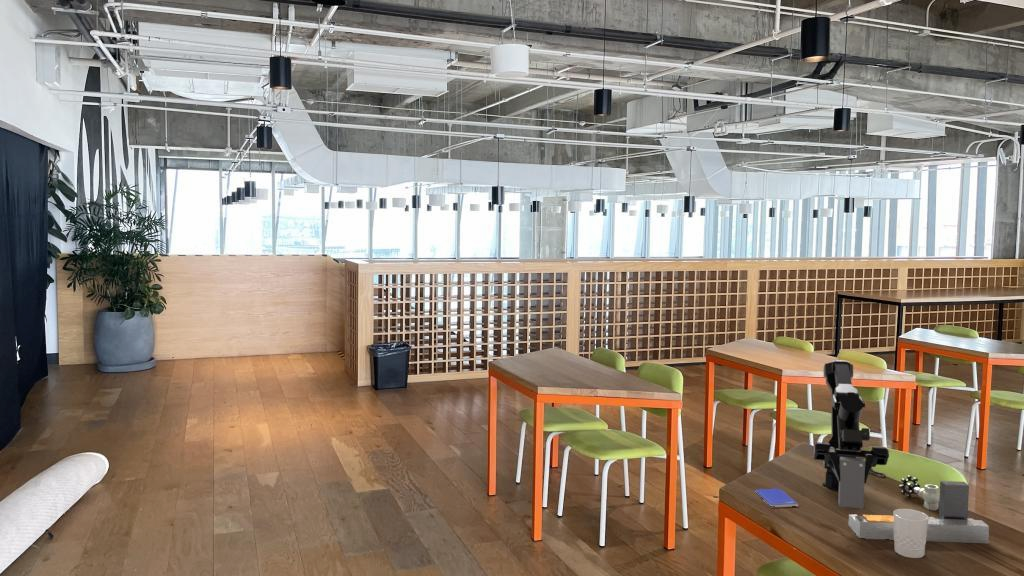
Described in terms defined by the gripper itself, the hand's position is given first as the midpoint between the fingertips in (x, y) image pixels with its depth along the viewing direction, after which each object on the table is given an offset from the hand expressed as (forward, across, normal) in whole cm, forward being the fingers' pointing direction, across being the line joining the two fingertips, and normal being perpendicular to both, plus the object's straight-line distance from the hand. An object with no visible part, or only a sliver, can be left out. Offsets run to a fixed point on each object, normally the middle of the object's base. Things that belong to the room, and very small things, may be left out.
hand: (852, 481), depth 208 cm
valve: (-9, +22, +29) cm, 38 cm away
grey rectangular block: (+4, 0, +6) cm, 7 cm away
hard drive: (-3, -19, +23) cm, 30 cm away
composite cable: (-26, +12, +46) cm, 55 cm away
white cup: (+18, +12, +2) cm, 22 cm away
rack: (+8, +16, +11) cm, 21 cm away
